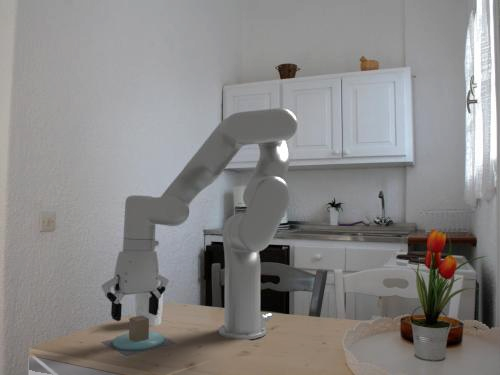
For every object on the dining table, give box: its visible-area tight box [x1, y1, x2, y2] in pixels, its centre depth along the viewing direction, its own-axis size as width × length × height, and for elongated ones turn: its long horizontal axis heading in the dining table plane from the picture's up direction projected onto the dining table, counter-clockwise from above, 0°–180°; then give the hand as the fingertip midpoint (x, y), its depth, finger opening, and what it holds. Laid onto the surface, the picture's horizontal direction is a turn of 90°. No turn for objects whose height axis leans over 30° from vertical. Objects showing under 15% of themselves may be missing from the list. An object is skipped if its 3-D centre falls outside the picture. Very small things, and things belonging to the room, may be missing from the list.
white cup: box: [134, 292, 164, 327], centre depth 119 cm, size 8×8×10 cm
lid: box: [113, 316, 165, 351], centre depth 102 cm, size 12×12×6 cm
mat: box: [101, 330, 177, 357], centre depth 101 cm, size 13×13×1 cm
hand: (135, 316), depth 101 cm, fingers open, 9 cm apart
